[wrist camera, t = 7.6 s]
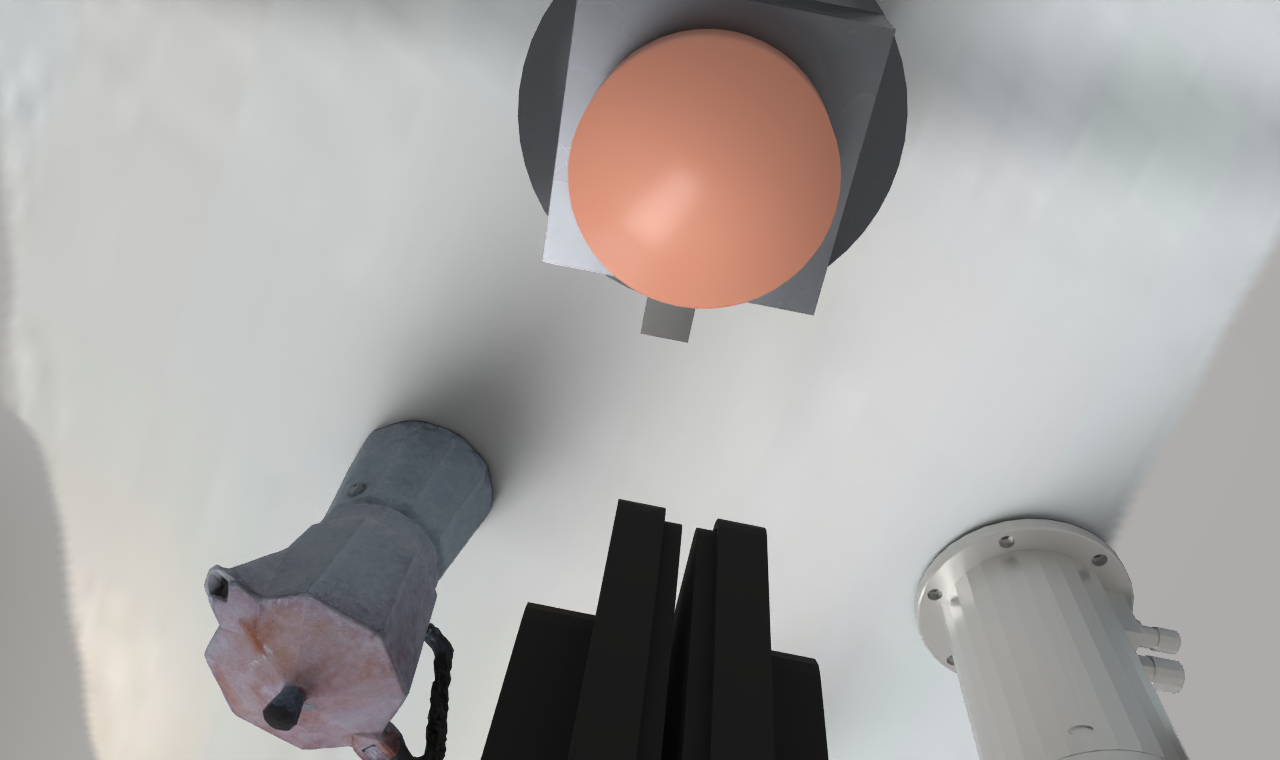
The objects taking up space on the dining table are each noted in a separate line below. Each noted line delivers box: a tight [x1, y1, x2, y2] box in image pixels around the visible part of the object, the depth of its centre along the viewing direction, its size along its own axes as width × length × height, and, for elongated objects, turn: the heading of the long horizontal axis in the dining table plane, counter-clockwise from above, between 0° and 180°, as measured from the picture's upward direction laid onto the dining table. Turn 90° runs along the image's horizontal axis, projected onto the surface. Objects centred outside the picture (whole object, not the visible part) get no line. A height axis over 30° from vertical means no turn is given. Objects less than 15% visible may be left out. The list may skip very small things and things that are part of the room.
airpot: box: [518, 0, 907, 343], centre depth 36 cm, size 13×19×21 cm
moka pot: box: [204, 421, 492, 760], centre depth 51 cm, size 10×15×20 cm, turn 40°
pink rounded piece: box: [568, 29, 841, 309], centre depth 27 cm, size 7×7×6 cm
